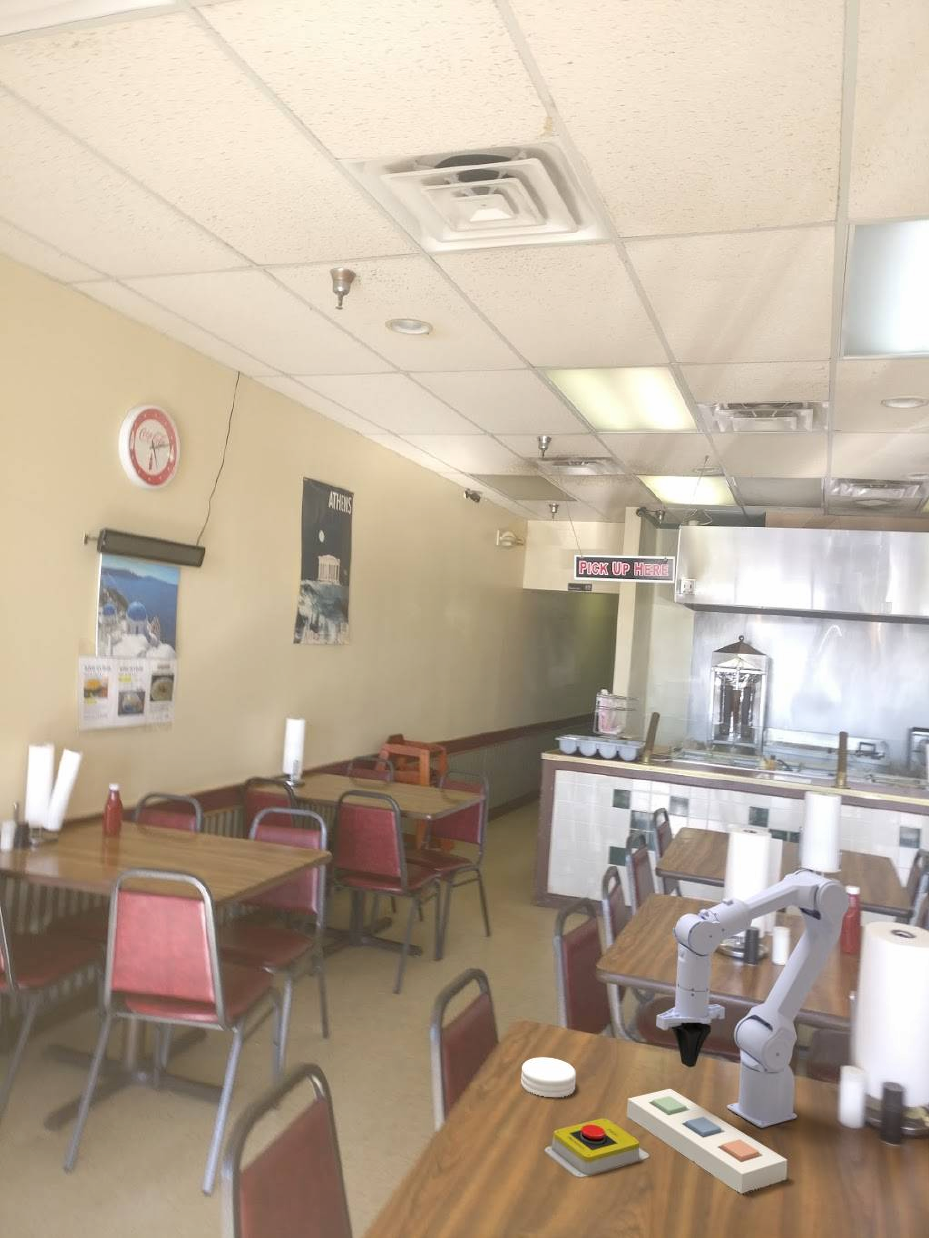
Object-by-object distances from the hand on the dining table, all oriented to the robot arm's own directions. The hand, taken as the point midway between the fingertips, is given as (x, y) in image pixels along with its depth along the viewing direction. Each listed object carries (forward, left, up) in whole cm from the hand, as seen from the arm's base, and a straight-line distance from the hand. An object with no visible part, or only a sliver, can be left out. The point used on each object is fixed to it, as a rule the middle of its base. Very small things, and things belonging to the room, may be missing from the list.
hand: (688, 1064), depth 165 cm
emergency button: (+22, +3, -10) cm, 24 cm away
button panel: (+4, +8, -9) cm, 13 cm away
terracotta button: (+4, +16, -9) cm, 19 cm away
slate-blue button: (+4, +8, -9) cm, 13 cm away
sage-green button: (+4, 0, -9) cm, 10 cm away
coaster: (+15, -20, -10) cm, 27 cm away
